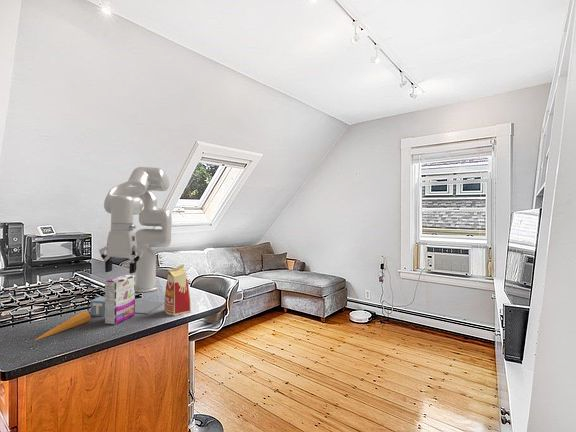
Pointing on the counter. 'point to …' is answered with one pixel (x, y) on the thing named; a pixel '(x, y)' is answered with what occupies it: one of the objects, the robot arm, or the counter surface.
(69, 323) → the carrot
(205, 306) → the counter surface
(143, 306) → the mat
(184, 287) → the milk carton
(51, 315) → the counter surface
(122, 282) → the candy bar box
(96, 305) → the letter cube
